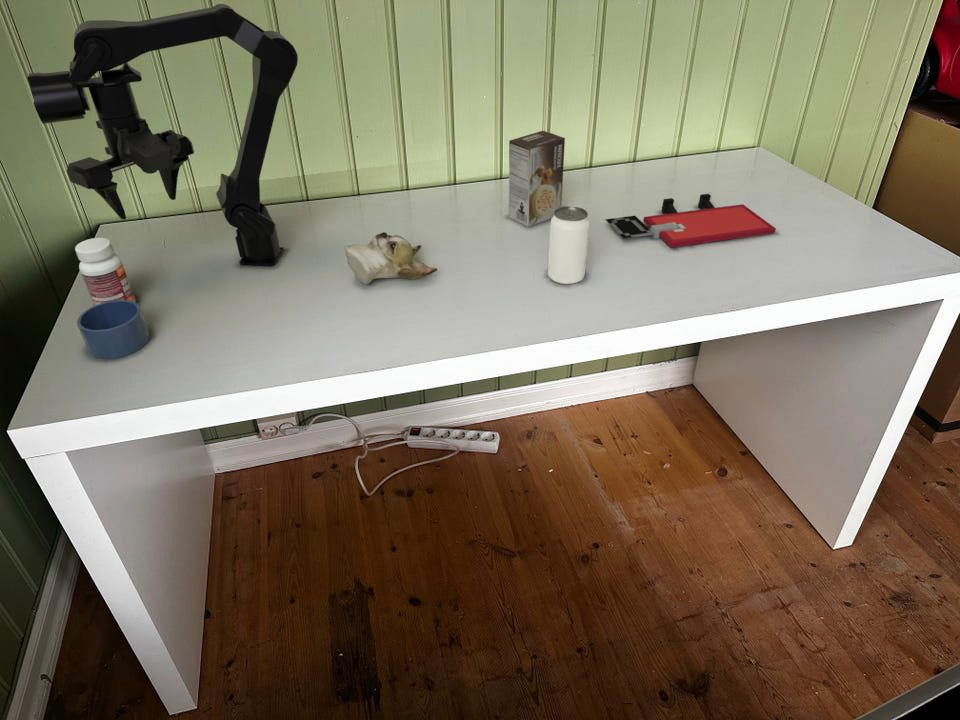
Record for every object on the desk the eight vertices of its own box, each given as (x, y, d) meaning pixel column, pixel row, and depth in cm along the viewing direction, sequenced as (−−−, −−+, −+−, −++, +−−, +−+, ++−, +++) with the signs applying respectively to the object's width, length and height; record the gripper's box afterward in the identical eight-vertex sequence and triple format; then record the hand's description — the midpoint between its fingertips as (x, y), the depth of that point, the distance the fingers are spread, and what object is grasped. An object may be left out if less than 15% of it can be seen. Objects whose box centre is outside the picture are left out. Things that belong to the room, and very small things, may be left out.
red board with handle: (600, 219, 138) (633, 254, 127) (602, 206, 136) (636, 241, 125) (731, 203, 145) (774, 235, 133) (734, 190, 143) (777, 221, 132)
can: (560, 289, 117) (565, 224, 110) (540, 272, 122) (543, 209, 115) (591, 280, 120) (598, 216, 112) (571, 264, 124) (576, 202, 117)
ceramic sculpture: (336, 224, 118) (420, 215, 123) (340, 269, 123) (420, 258, 128) (350, 252, 110) (439, 240, 115) (354, 298, 115) (438, 285, 120)
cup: (159, 327, 109) (150, 300, 106) (133, 360, 102) (122, 332, 99) (107, 325, 110) (96, 298, 107) (77, 357, 103) (65, 330, 100)
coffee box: (540, 205, 145) (543, 129, 135) (561, 215, 141) (566, 137, 131) (507, 217, 140) (508, 139, 130) (528, 228, 136) (531, 148, 126)
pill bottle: (139, 308, 114) (117, 247, 107) (99, 320, 111) (74, 257, 104) (132, 292, 118) (110, 232, 111) (93, 303, 115) (68, 242, 108)
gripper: (90, 141, 95) (126, 243, 104) (202, 107, 107) (225, 200, 116) (47, 126, 100) (85, 225, 109) (159, 95, 112) (185, 186, 122)
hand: (148, 208), depth 114 cm, fingers open, 9 cm apart
